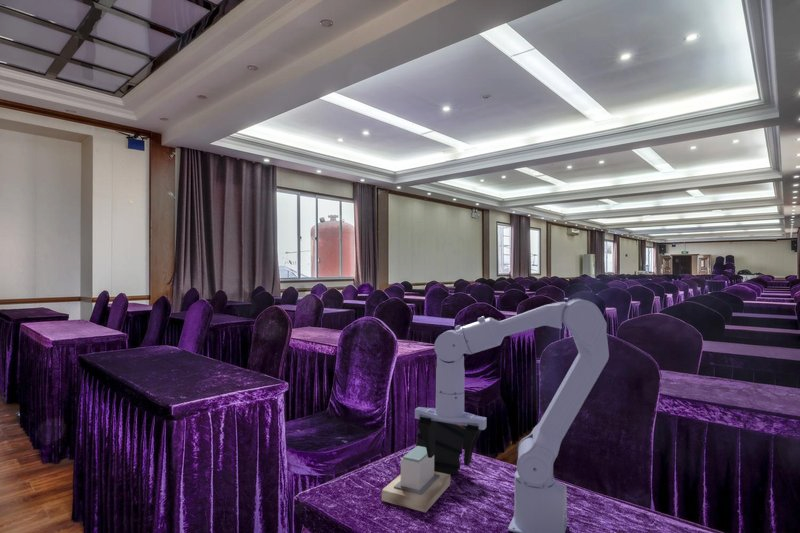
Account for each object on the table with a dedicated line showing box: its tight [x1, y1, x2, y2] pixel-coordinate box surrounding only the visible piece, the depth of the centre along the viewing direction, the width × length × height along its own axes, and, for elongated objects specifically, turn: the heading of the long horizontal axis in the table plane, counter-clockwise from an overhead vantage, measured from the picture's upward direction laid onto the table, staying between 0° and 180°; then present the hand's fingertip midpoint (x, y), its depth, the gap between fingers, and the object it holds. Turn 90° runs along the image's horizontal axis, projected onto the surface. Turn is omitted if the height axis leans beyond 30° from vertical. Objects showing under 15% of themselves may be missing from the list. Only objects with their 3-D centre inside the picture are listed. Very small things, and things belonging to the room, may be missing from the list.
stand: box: [381, 471, 451, 513], centre depth 97 cm, size 10×14×2 cm
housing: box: [400, 445, 434, 490], centre depth 98 cm, size 8×4×6 cm, turn 153°
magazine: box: [415, 406, 467, 476], centre depth 109 cm, size 4×13×15 cm, turn 84°
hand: (449, 459), depth 89 cm, fingers open, 7 cm apart
